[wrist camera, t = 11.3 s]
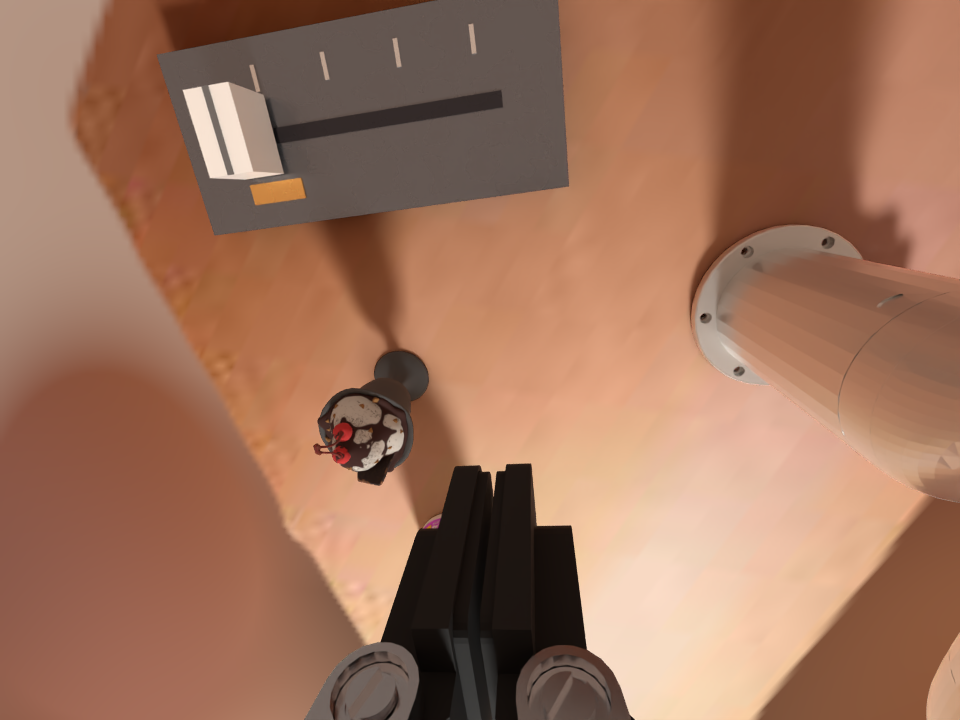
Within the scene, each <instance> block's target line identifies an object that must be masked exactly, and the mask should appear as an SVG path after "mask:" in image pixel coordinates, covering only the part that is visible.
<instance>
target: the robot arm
mask: <svg viewBox="0 0 960 720" xmlns="http://www.w3.org/2000/svg"><path fill="white" fill-rule="evenodd" d="M823 240H824V241H823ZM822 241H823V243H822ZM821 243H822V244H821ZM743 248H745V252H744V253H743V254H741V251H742V249H743ZM702 314H705V315H704V317H703V318H700V316H701V315H702ZM691 324H692V332H693V336H694V339H695V341H696V344H697V347H698V348H699V350H700V351H701V353H702V354H703V356H704V358H706V359H707V360H708V361H709V363H710V364H711V365H712V366H714V367H715V368H716V369H717V370H719V371H720V372H721V373H722V374H724V375H726V376H728V377H730V378H731V379H734V380H736V381H740V382H743V383H747V384H752V385H764V386H767V385H771V386H772V387H773V388H774V389H776V390H777V391H778V392H779V393H781V394H782V395H783V396H785V397H786V398H787V399H788V400H790V401H791V402H792V403H794V404H795V405H796V406H797V407H799V408H800V409H801V410H803V411H804V412H805V413H806V414H808V415H809V416H810V417H812V418H813V419H814V420H815V421H817V422H818V423H819V424H821V425H822V426H823V427H824V428H826V429H827V430H828V431H830V432H831V433H832V434H833V435H835V436H836V437H837V438H839V439H840V440H841V441H842V442H844V443H845V444H846V445H848V446H849V447H850V448H851V449H853V450H854V451H855V452H857V453H858V454H859V455H860V456H862V457H863V458H864V459H866V460H867V461H868V462H870V463H871V464H872V465H874V466H875V467H876V468H877V469H879V470H880V471H881V472H883V473H884V474H886V475H887V476H889V477H891V478H892V479H894V480H895V481H897V482H899V483H901V484H903V485H905V486H907V487H909V488H911V489H913V490H916V491H918V492H921V493H924V494H927V495H930V496H933V497H936V498H940V499H944V500H949V501H954V502H960V279H955V278H951V277H946V276H941V275H936V274H931V273H926V272H921V271H916V270H911V269H906V268H901V267H896V266H891V265H886V264H881V263H876V262H871V261H867V260H863V258H862V256H861V254H860V253H859V252H858V250H857V249H856V248H855V247H854V246H853V245H852V244H851V243H850V242H849V241H848V240H846V239H845V238H843V237H842V236H840V235H839V234H837V233H835V232H832V231H830V230H827V229H824V228H821V227H815V226H809V225H796V224H789V225H781V226H773V227H770V228H767V229H764V230H760V231H757V232H755V233H753V234H751V235H749V236H747V237H745V238H743V239H741V240H739V241H738V242H736V243H735V244H734V245H732V246H731V247H729V248H728V249H727V250H725V251H724V252H723V253H722V254H721V255H720V256H719V257H718V258H717V259H716V260H715V261H714V262H713V264H712V265H711V266H710V268H709V269H708V271H707V272H706V273H705V275H704V276H703V278H702V280H701V282H700V284H699V286H698V288H697V290H696V293H695V297H694V301H693V304H692V313H691ZM736 367H737V368H736ZM735 368H736V369H735ZM734 369H735V370H734ZM304 720H635V719H634V718H632V717H631V716H630V715H629V712H628V709H627V705H626V702H625V699H624V696H623V693H622V690H621V687H620V685H619V683H618V681H617V679H616V677H615V675H614V673H613V672H612V670H611V669H610V668H609V667H608V666H607V665H606V664H605V663H604V662H603V660H602V659H600V658H599V657H597V656H596V655H594V654H593V653H591V652H590V651H588V650H587V647H586V639H585V631H584V623H583V615H582V607H581V599H580V591H579V583H578V575H577V567H576V558H575V550H574V542H573V534H572V527H571V526H537V523H536V512H535V500H534V488H533V477H532V466H531V463H530V464H507V465H506V471H497V474H496V482H495V491H494V497H493V489H492V481H491V474H490V472H482V470H481V466H480V465H478V466H456V467H455V468H454V471H453V475H452V479H451V482H450V486H449V490H448V493H447V497H446V501H445V504H444V508H443V512H442V515H441V519H440V523H439V526H438V528H422V529H420V530H419V531H418V532H417V534H416V537H415V540H414V543H413V546H412V549H411V552H410V555H409V558H408V561H407V564H406V567H405V570H404V573H403V576H402V579H401V582H400V585H399V588H398V591H397V594H396V597H395V600H394V603H393V606H392V609H391V612H390V615H389V618H388V621H387V624H386V627H385V630H384V633H383V636H382V639H381V642H377V643H374V644H370V645H366V646H363V647H361V648H359V649H358V650H356V651H354V652H352V653H350V654H349V655H348V656H347V657H346V658H344V659H343V660H342V661H341V662H340V663H339V664H338V665H337V666H336V667H335V669H334V670H333V671H332V673H331V674H330V676H329V677H328V678H327V680H326V682H325V683H324V685H323V687H322V689H321V691H320V692H319V694H318V696H317V698H316V699H315V701H314V703H313V705H312V707H311V708H310V710H309V712H308V714H307V716H306V718H305V719H304ZM927 720H960V633H959V635H958V636H957V638H956V639H955V641H954V642H953V644H952V645H951V648H950V649H949V651H948V652H947V654H946V655H945V657H944V659H943V661H942V662H941V665H940V666H939V668H938V671H937V672H936V674H935V677H934V679H933V681H932V683H931V687H930V690H929V694H928V700H927Z"/></svg>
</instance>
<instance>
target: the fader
mask: <svg viewBox="0 0 960 720" xmlns="http://www.w3.org/2000/svg"><path fill="white" fill-rule="evenodd" d="M183 93H184V96H185V99H186V103H187V106H188V109H189V112H190V115H191V119H192V122H193V125H194V128H195V131H196V135H197V138H198V141H199V144H200V148H201V151H202V154H203V157H204V160H205V164H206V167H207V170H208V173H209V176H210V178H218V179H243V180H246V179H252V178H259V177H265V176H272V175H278V174H284V172H283V168H282V164H281V160H280V156H279V153H278V149H277V145H276V141H275V137H274V133H273V129H272V126H271V122H270V118H269V114H268V110H267V106H266V102H265V98H264V95H263V94H260V93H257V92H254V91H252V90H249V89H246V88H244V87H241V86H238V85H236V84H233V83H230V82H224V83H218V84H213V85H204V86H201V87H197V88H191V89H186V90H183Z"/></svg>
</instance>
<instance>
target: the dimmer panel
mask: <svg viewBox="0 0 960 720" xmlns="http://www.w3.org/2000/svg"><path fill="white" fill-rule="evenodd" d="M157 57H158V60H159V64H160V67H161V70H162V73H163V76H164V79H165V82H166V85H167V88H168V92H169V95H170V98H171V101H172V104H173V107H174V110H175V113H176V117H177V120H178V123H179V126H180V129H181V132H182V135H183V138H184V142H185V145H186V148H187V151H188V154H189V157H190V160H191V163H192V166H193V170H194V173H195V176H196V179H197V182H198V185H199V188H200V191H201V195H202V198H203V201H204V204H205V207H206V210H207V213H208V216H209V219H210V223H211V226H212V229H213V232H214V235H221V234H228V233H236V232H243V231H250V230H257V229H265V228H272V227H279V226H286V225H293V224H301V223H308V222H315V221H322V220H330V219H337V218H344V217H351V216H358V215H366V214H373V213H380V212H387V211H395V210H402V209H409V208H416V207H424V206H431V205H438V204H445V203H452V202H460V201H467V200H474V199H481V198H489V197H496V196H503V195H510V194H517V193H525V192H532V191H539V190H546V189H554V188H561V187H568V186H569V179H568V162H567V145H566V128H565V112H564V95H563V78H562V61H561V44H560V27H559V10H558V0H435V1H430V2H425V3H420V4H415V5H410V6H404V7H399V8H394V9H389V10H384V11H379V12H374V13H368V14H363V15H358V16H353V17H348V18H343V19H338V20H333V21H327V22H322V23H317V24H312V25H307V26H302V27H297V28H292V29H286V30H281V31H276V32H271V33H266V34H261V35H256V36H251V37H245V38H240V39H235V40H230V41H225V42H220V43H215V44H210V45H204V46H199V47H194V48H189V49H184V50H179V51H174V52H169V53H163V54H158V55H157ZM224 82H230V83H233V84H236V85H238V86H241V87H244V88H246V89H249V90H252V91H254V92H257V93H260V94H263V95H264V98H265V102H266V106H267V110H268V114H269V118H270V122H271V126H272V129H273V133H274V137H275V141H276V145H277V149H278V153H279V156H280V160H281V164H282V168H283V172H284V174H278V175H272V176H265V177H259V178H252V179H246V180H243V179H218V178H210V176H209V173H208V170H207V167H206V164H205V160H204V157H203V154H202V151H201V148H200V144H199V141H198V138H197V135H196V131H195V128H194V125H193V122H192V119H191V115H190V112H189V109H188V106H187V103H186V99H185V96H184V93H183V90H186V89H191V88H197V87H201V86H204V85H213V84H218V83H224Z"/></svg>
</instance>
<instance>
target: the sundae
mask: <svg viewBox="0 0 960 720" xmlns="http://www.w3.org/2000/svg"><path fill="white" fill-rule="evenodd" d="M374 377H375V380H373V381H371V382H369V383H367V384H365V385H364V386H362V387H361V388H360V389H357V388H350V389H345V390H343V391H340V392H339V393H337V394H336V395H334V396H333V397H332V398H331V399H330V400H329V401H328V402H327V404H326V405H325V407H324V408H323V410H322V412H321V415H320V417H319V418H318V424H319V431H320V435H321V438H322V440H323V441H324V443H325V445H326V446H320V445H319V444H315V445H314V446H313V447H314V450H315V453H316V454H318V455H321V454H332V457H333V459H334V461H335V462H336V463H339V464H340V465H341V466H343V467H345V468H347V469H348V470H352V471H355V472H358V481H359V482H363V483H367V484H374V485H378V486H380V485H381V484H382V483H383V481H384V479H385V477H386V474H387V472H392V471H393V470H394V468H395V467H397V466H399V465H400V464H402V463H403V462H404V461H405V459H406V458H407V457H408V455H409V453H410V451H411V448H412V444H413V423H412V420H411V417H410V412H411V401H413V400H416V399H418V398H419V397H420V396H421V395H423V393H424V392H425V391H426V389H427V386H428V382H429V377H428V371H427V369H426V367H425V365H424V364H423V362H422V361H421V360H420V359H419V358H417V357H416V356H415V355H413V354H410V353H407V352H404V351H395V352H391V353H388V354H386V355H384V356H383V357H382V358H381V359H380V360H379V361H378V362H377V364H376V367H375V371H374ZM320 448H328V449H329V451H330V452H322V451H320Z"/></svg>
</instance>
